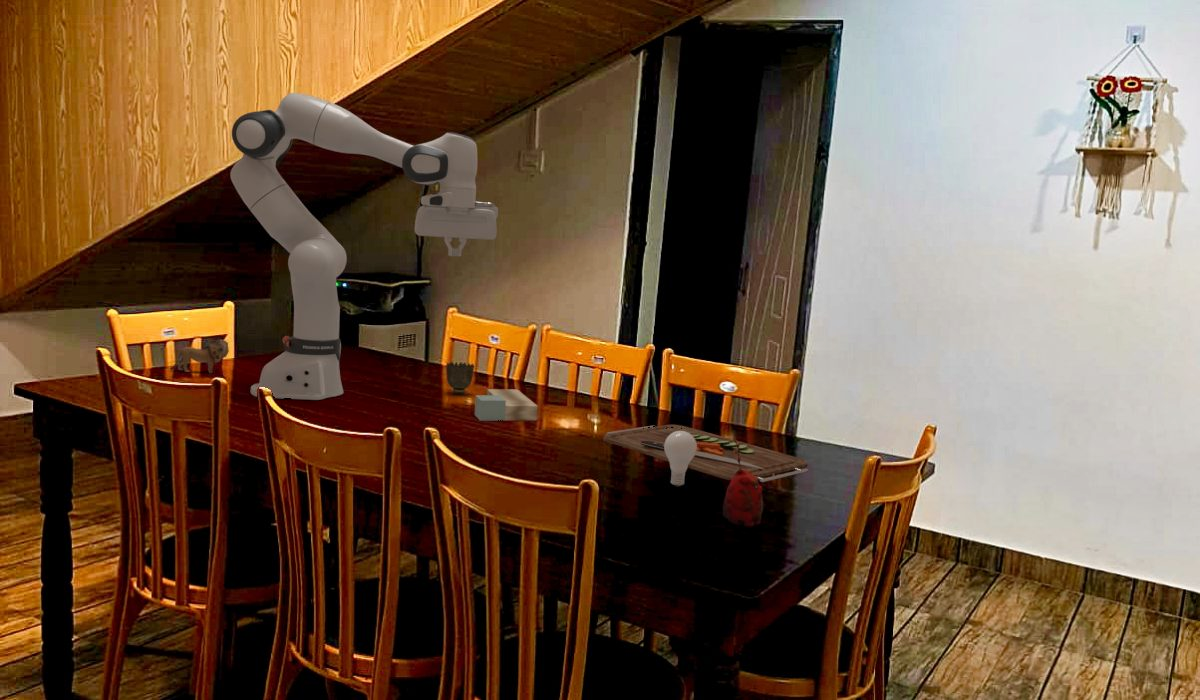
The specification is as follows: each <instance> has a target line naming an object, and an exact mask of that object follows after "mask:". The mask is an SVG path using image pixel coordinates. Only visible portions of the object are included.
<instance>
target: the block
mask: <svg viewBox="0 0 1200 700" xmlns="http://www.w3.org/2000/svg"><path fill="white" fill-rule="evenodd" d="M474 403H475V405H474V416H475V417H476V418H477V419H478V421H480V422H482V421H483V422H484V421H485V422H490V421H492V422H494V421H496V422H497V421H498V420H499V422H500V420H501V421H502V420H503V421H506V420H505V406H506V400H505V399H503V398H502V397H501V396H500V395H487V394H486V395H484V394H483V395H479V394H478V395H477V394H476V395H475V401H474Z"/></svg>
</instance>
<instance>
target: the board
mask: <svg viewBox="0 0 1200 700" xmlns="http://www.w3.org/2000/svg"><path fill="white" fill-rule="evenodd" d="M486 395H500V396H501V397H502V398H503V399H505V400H506V406H505V421H538V410H539V409H538V407H539V406H538V404H536V403H535V402H533V401H532V400H531V399H530V398H529V397H527V396H526V395H525V394H523V393H522V392H521V391H520V390H519V389H518V388H517V389H513V388H512V389H511V388H510V389H505V388H504V389H502V388H501V389H499V388H497V389H496V388H495V389H493V388H488V389H487V388H486Z"/></svg>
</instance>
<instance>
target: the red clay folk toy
mask: <svg viewBox="0 0 1200 700" xmlns="http://www.w3.org/2000/svg"><path fill="white" fill-rule="evenodd" d="M733 440H734V441H735V443H736V447H737V448H734V453H735V454H737V452H738V459H737V461H738V463H739V470H738V471H737V472H736V474H735V476H734V477H733V479H732V480H730V483H729V484H728V486H727V488H726V492H725V497H724V499H723V502H722V503H723V504H722V515H723V518H725V519H726V520H727V521H729V523H731V524H733V525H736V526H739V527H740V526H744V527H745V528H749V527H750V528H752V527H754V526H757V525H760V524H761V521H762V514H763V511H764V501H763V494H762V492H763V487H762V486H761V485H760V484H759V479H758V478H757V477H756V476H753V475H751V472H749V471H744V470H742V469H741V466H740V460H741V459H742V458H740V457H739V445H741V444H743V443H744V441H741V442H742V443H741V444H738V443H737V441H738V440H736V438H735V437H734V438H733ZM731 446H735V445H731ZM737 450H738V451H737Z"/></svg>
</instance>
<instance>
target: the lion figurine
mask: <svg viewBox="0 0 1200 700" xmlns="http://www.w3.org/2000/svg"><path fill="white" fill-rule="evenodd" d="M229 349H230V348H229V342H227V340H224V339H217V340H215V341H214V342H212V343H210V344H207V345H206V346H205V347H202V348H195V347H193V346H185V347H182V348H181V349H180V350H179V352H178V354H177V357H176V361H175V364H174V365H173V366H172V367H170V368H169V370H171V371H173V370H174V369H176V367H177V369H178V371H184V372H185V373H186V372H190V373H191V370H190V369H188V364H189V361H190V359H191V360H193V361H194V362H197V363H207V370H208V373H209V374H210V373H212V372H213V370H214V369H213V367H214V363H215V364H216V363H220V362H221V360H222V359H223V358H226V357H227V356H228V354H229V351H230V350H229ZM181 357H182V358H181ZM180 359H181V360H180Z"/></svg>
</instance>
